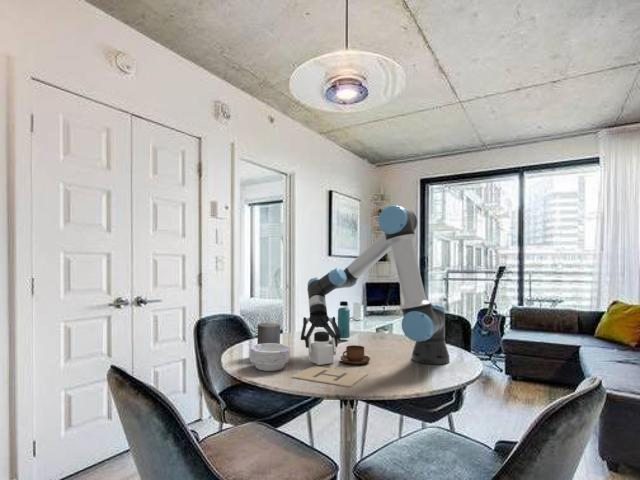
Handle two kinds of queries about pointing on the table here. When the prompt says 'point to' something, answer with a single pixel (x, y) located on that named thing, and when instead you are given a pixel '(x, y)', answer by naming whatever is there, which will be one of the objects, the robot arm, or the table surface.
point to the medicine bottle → (321, 349)
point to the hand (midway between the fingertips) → (322, 353)
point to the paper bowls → (269, 356)
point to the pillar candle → (268, 333)
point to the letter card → (330, 376)
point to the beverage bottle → (344, 320)
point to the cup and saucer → (355, 355)
